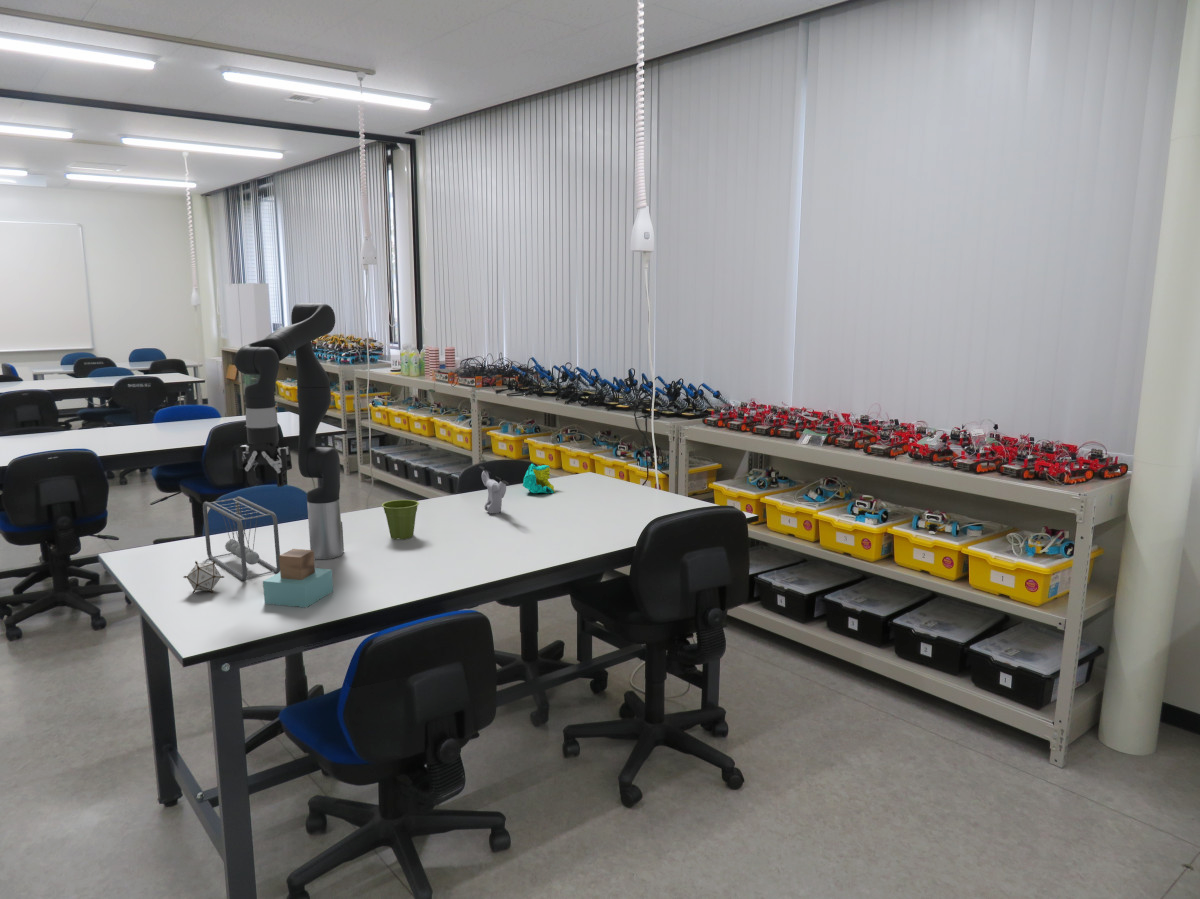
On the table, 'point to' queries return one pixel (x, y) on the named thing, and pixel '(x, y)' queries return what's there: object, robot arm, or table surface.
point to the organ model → (538, 479)
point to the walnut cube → (297, 564)
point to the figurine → (493, 492)
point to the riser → (298, 589)
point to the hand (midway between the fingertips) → (266, 485)
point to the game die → (204, 576)
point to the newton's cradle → (241, 537)
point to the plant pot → (401, 517)
